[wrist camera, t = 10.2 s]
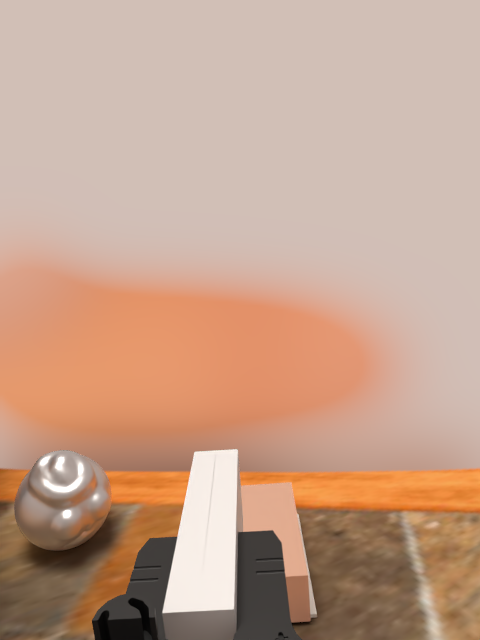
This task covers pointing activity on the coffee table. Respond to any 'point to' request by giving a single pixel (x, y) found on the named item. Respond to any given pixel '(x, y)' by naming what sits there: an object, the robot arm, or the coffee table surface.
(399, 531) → the coffee table surface
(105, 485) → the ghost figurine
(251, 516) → the peach rectangular block
